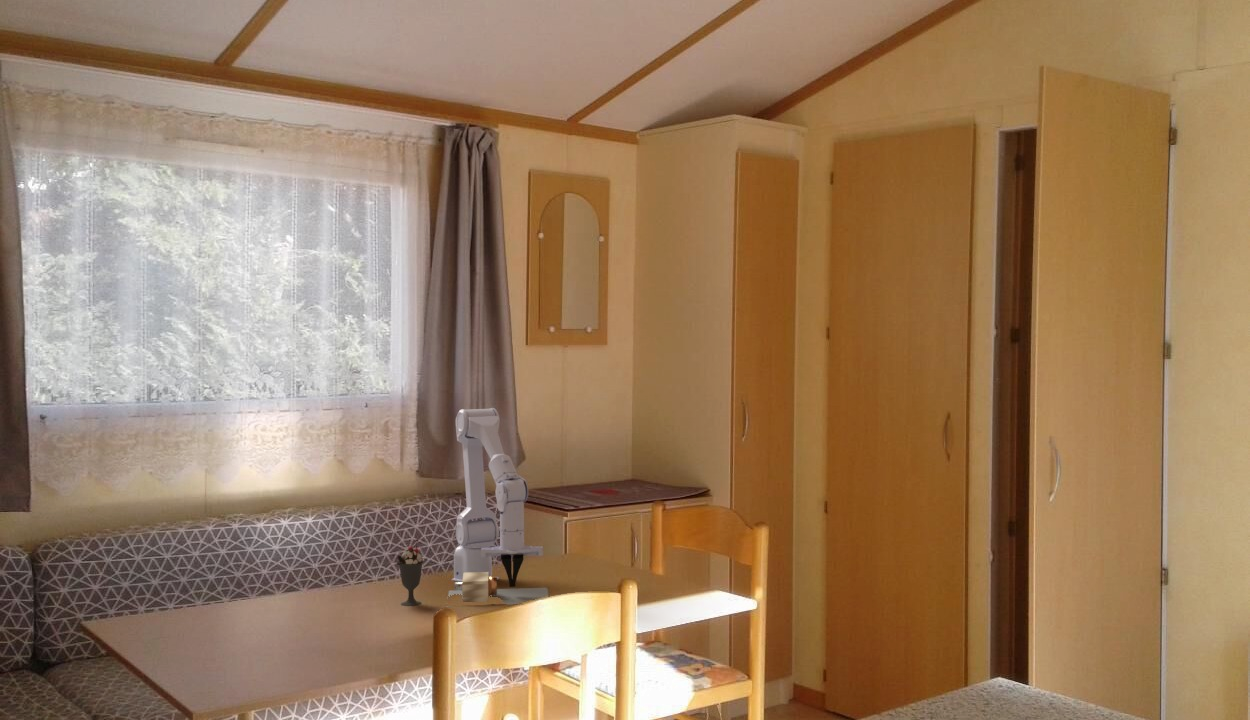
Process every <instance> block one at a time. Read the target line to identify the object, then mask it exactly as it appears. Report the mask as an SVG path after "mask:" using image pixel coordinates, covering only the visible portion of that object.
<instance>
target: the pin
mask: <svg viewBox="0 0 1250 720" xmlns="http://www.w3.org/2000/svg"><path fill="white" fill-rule="evenodd" d="M497 577H498V576H497V575H492V576H488V595H497V589H498V583H497V582H498V580H497ZM453 588H454V589H453V590H455V591H462V582H458V581H454V587H453Z"/></svg>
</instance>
